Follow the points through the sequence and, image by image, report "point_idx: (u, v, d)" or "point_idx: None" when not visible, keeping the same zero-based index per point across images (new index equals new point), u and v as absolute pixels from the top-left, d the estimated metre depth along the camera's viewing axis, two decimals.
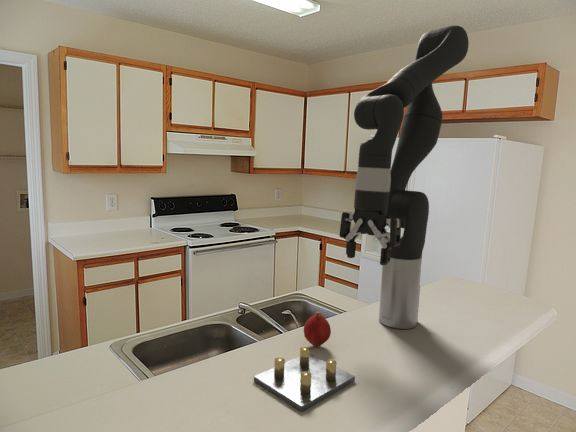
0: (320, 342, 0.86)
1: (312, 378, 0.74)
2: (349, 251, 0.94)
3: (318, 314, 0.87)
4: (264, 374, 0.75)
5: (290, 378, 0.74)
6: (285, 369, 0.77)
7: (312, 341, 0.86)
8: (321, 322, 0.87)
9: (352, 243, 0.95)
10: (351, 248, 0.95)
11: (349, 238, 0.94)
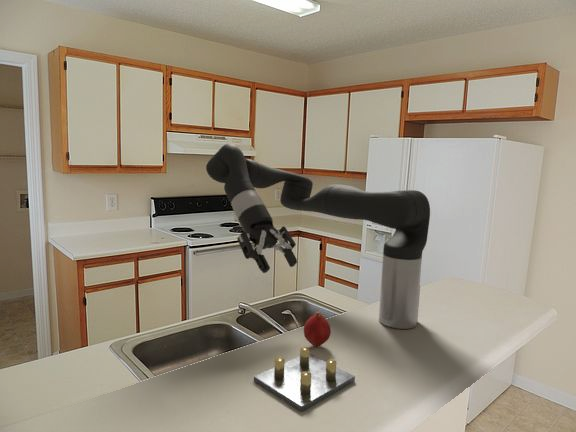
0: (320, 342, 0.86)
1: (312, 378, 0.74)
2: (266, 262, 0.93)
3: (318, 314, 0.87)
4: (264, 374, 0.75)
5: (290, 378, 0.74)
6: (285, 369, 0.77)
7: (312, 341, 0.86)
8: (321, 322, 0.87)
9: None
10: None
11: (260, 251, 0.94)
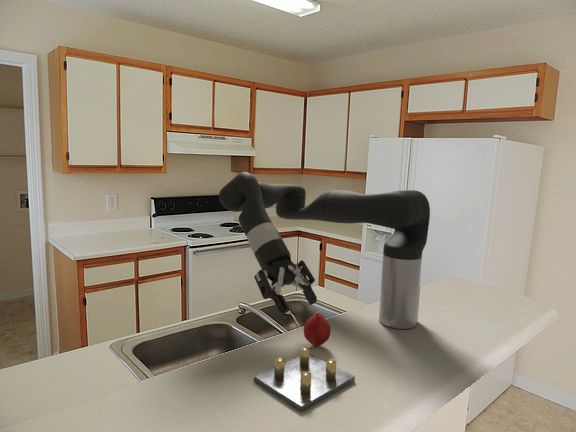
0: (320, 342, 0.86)
1: (312, 378, 0.74)
2: (285, 303, 0.88)
3: (318, 314, 0.87)
4: (264, 374, 0.75)
5: (290, 378, 0.74)
6: (285, 369, 0.77)
7: (312, 341, 0.86)
8: (321, 322, 0.87)
9: None
10: None
11: (279, 291, 0.89)
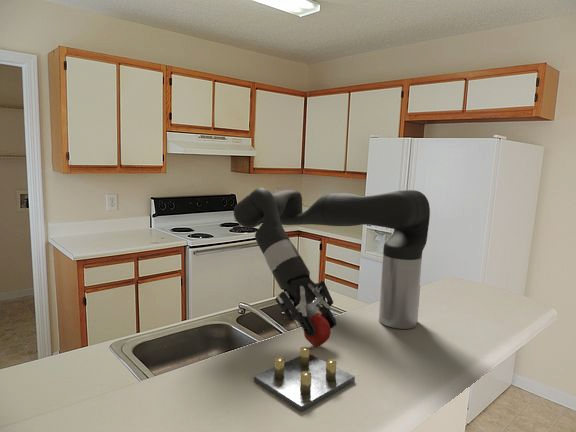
0: (320, 342, 0.86)
1: (312, 378, 0.74)
2: (312, 325, 0.85)
3: (318, 314, 0.87)
4: (264, 374, 0.75)
5: (290, 378, 0.74)
6: (285, 369, 0.77)
7: (312, 341, 0.86)
8: (321, 322, 0.87)
9: None
10: None
11: (305, 312, 0.86)
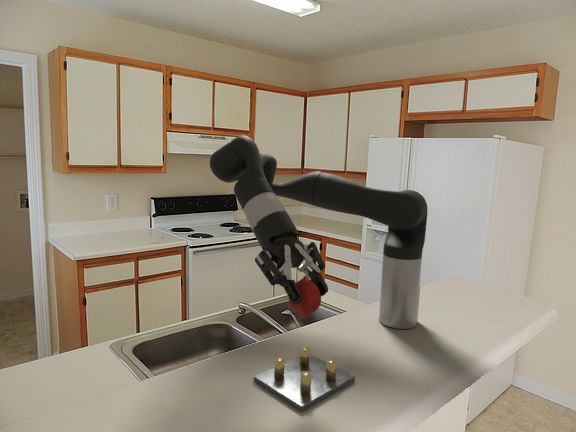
0: (308, 311, 0.72)
1: (312, 378, 0.74)
2: (298, 290, 0.70)
3: (306, 278, 0.73)
4: (264, 374, 0.75)
5: (290, 378, 0.74)
6: (285, 369, 0.77)
7: (298, 310, 0.72)
8: (309, 287, 0.72)
9: None
10: None
11: (289, 275, 0.71)
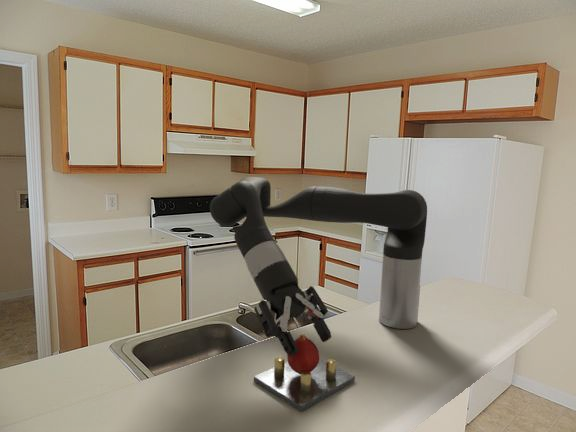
0: (307, 371, 0.72)
1: (312, 378, 0.74)
2: (294, 342, 0.70)
3: (302, 337, 0.73)
4: (264, 374, 0.75)
5: (290, 378, 0.74)
6: (285, 369, 0.77)
7: (298, 370, 0.72)
8: (306, 347, 0.73)
9: None
10: None
11: (285, 326, 0.71)
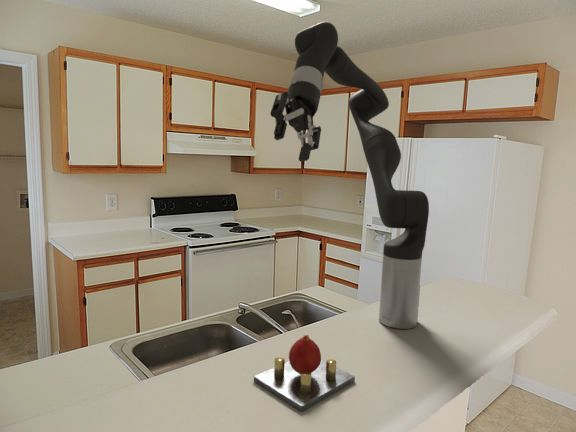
0: (308, 371, 0.72)
1: (312, 378, 0.74)
2: (284, 131, 0.85)
3: (306, 338, 0.73)
4: (264, 374, 0.75)
5: (290, 378, 0.74)
6: (285, 369, 0.77)
7: (299, 370, 0.72)
8: (309, 348, 0.73)
9: None
10: None
11: (287, 119, 0.86)
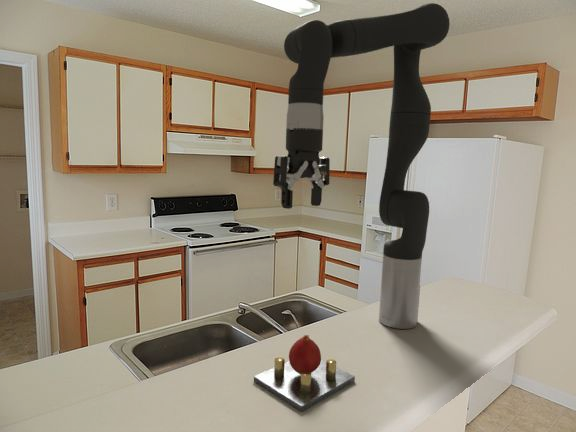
0: (308, 371, 0.72)
1: (312, 378, 0.74)
2: (291, 200, 0.83)
3: (306, 338, 0.73)
4: (264, 374, 0.75)
5: (290, 378, 0.74)
6: (285, 369, 0.77)
7: (299, 370, 0.72)
8: (309, 348, 0.73)
9: None
10: None
11: (291, 185, 0.82)
